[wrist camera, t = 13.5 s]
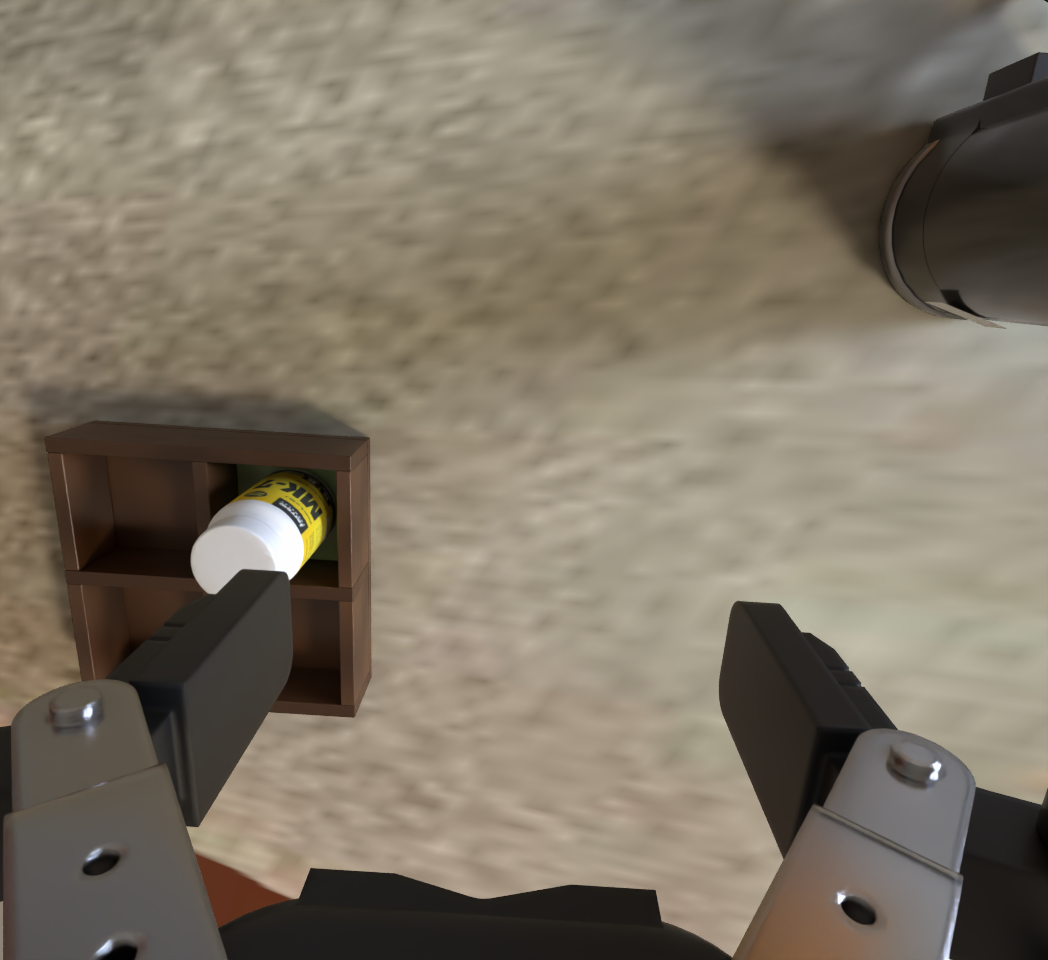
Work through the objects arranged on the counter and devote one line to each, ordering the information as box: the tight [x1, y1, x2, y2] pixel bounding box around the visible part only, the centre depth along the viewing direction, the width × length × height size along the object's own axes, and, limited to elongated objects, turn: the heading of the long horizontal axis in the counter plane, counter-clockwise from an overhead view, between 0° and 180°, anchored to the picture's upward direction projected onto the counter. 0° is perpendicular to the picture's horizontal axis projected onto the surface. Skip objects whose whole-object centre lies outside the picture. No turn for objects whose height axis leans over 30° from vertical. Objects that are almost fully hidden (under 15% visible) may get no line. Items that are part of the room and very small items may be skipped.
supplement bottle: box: [191, 469, 337, 594], centre depth 34 cm, size 5×5×8 cm
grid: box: [45, 421, 371, 718], centre depth 38 cm, size 16×16×4 cm
